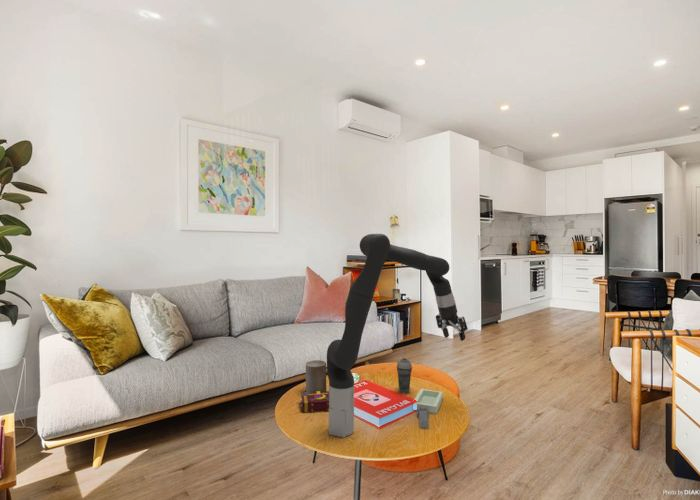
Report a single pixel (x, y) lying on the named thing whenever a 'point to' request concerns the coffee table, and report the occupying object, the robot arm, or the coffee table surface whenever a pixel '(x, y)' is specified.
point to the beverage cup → (404, 374)
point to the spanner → (423, 416)
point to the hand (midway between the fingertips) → (454, 338)
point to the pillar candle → (316, 376)
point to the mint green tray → (429, 400)
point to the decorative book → (315, 401)
